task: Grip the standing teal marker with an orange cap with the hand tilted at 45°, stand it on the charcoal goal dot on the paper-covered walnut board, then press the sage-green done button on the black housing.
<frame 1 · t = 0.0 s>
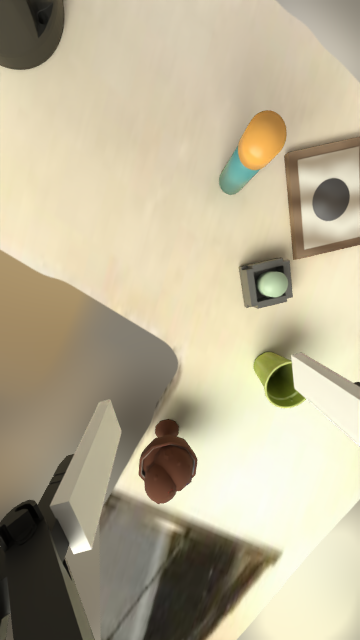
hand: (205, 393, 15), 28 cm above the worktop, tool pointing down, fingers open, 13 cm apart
plant pot: (266, 364, 46), on the worktop
marker: (231, 180, 37), on the worktop
done button housing: (261, 282, 42), on the worktop
ice cream bowl: (167, 429, 48), on the worktop
done button: (271, 284, 38), point 4 cm above the worktop, slide at 0.0 cm
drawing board: (324, 202, 39), on the worktop
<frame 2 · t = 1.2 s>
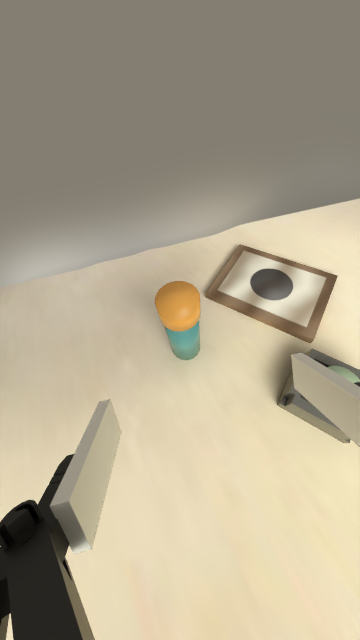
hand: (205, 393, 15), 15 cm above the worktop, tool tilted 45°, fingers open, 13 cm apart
marker: (186, 346, 34), on the worktop
done button housing: (317, 395, 28), on the worktop
done button: (334, 388, 25), point 4 cm above the worktop, slide at 0.0 cm
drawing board: (269, 288, 38), on the worktop
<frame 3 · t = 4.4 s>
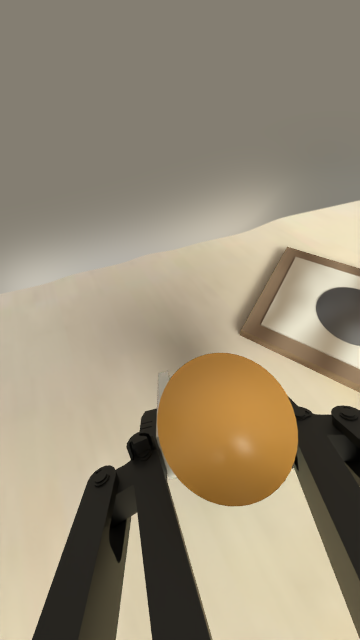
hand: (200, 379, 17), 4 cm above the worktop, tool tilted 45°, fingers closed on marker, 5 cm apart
marker: (212, 433, 19), on the worktop, touching gripper
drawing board: (345, 321, 23), on the worktop
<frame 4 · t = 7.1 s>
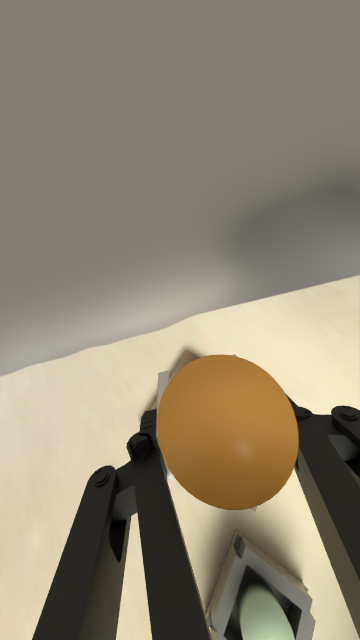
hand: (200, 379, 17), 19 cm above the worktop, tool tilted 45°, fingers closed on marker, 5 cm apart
marker: (212, 434, 18), point 15 cm above the worktop, touching gripper
done button housing: (254, 598, 23), on the worktop
done button: (264, 627, 20), point 4 cm above the worktop, slide at 0.0 cm
when the fingers open (7 cm above the worktop, at t = 9.7 s): marker drops 2 cm, resting on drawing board.
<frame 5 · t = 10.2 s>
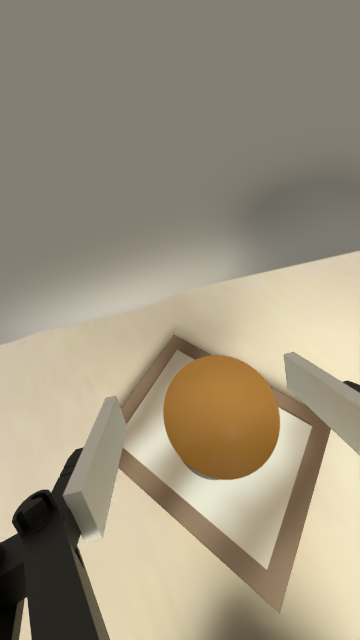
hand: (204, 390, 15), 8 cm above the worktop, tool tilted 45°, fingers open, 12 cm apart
marker: (210, 433, 20), point 2 cm above the worktop, touching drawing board
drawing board: (211, 434, 21), on the worktop
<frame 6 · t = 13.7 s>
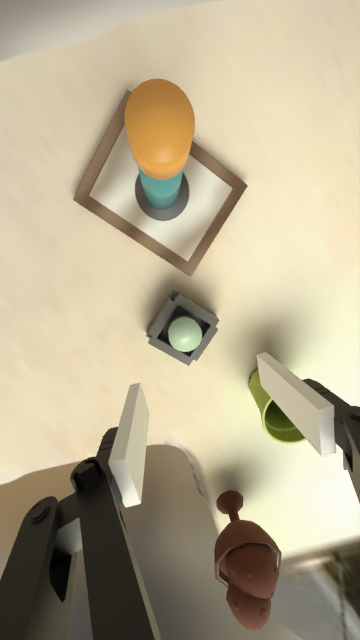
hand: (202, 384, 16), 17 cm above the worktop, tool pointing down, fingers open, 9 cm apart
plant pot: (265, 380, 37), on the worktop
marker: (161, 190, 27), point 2 cm above the worktop, touching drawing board
done button housing: (181, 325, 33), on the worktop
ice cream bowl: (229, 500, 42), on the worktop
done button: (184, 332, 29), point 4 cm above the worktop, slide at 0.0 cm
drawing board: (162, 195, 29), on the worktop
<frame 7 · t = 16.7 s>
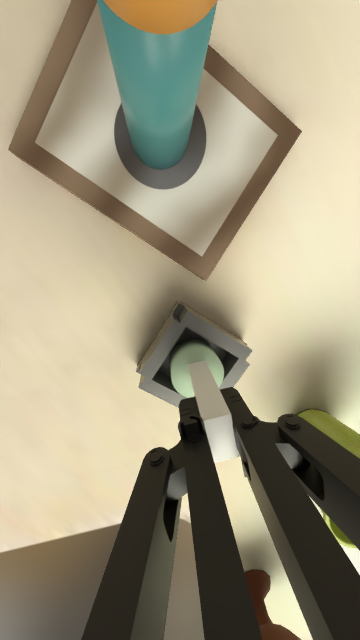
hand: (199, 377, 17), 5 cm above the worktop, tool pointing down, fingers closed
plant pot: (307, 428, 26), on the worktop
marker: (159, 136, 16), point 2 cm above the worktop, touching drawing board
done button housing: (190, 353, 22), on the worktop
ice cream bowl: (251, 581, 32), on the worktop
done button: (195, 367, 19), point 3 cm above the worktop, slide at 0.9 cm, touching gripper
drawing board: (161, 148, 17), on the worktop
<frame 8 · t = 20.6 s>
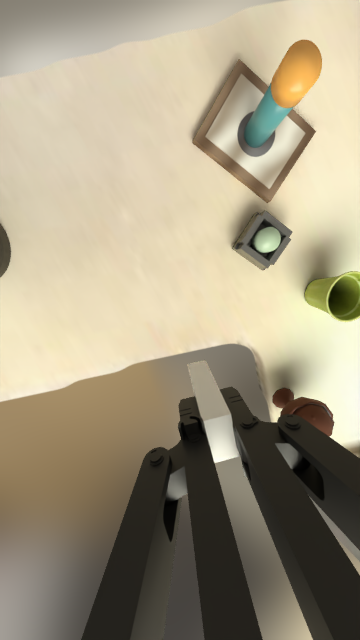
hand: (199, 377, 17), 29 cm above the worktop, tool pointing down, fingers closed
plant pot: (316, 292, 48), on the worktop
marker: (255, 133, 38), point 2 cm above the worktop, touching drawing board
done button housing: (258, 242, 44), on the worktop
ice cream bowl: (282, 397, 53), on the worktop
done button: (265, 240, 41), point 3 cm above the worktop, slide at 1.0 cm
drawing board: (253, 139, 39), on the worktop
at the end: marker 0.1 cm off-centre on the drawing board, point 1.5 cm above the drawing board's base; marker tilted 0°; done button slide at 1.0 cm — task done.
